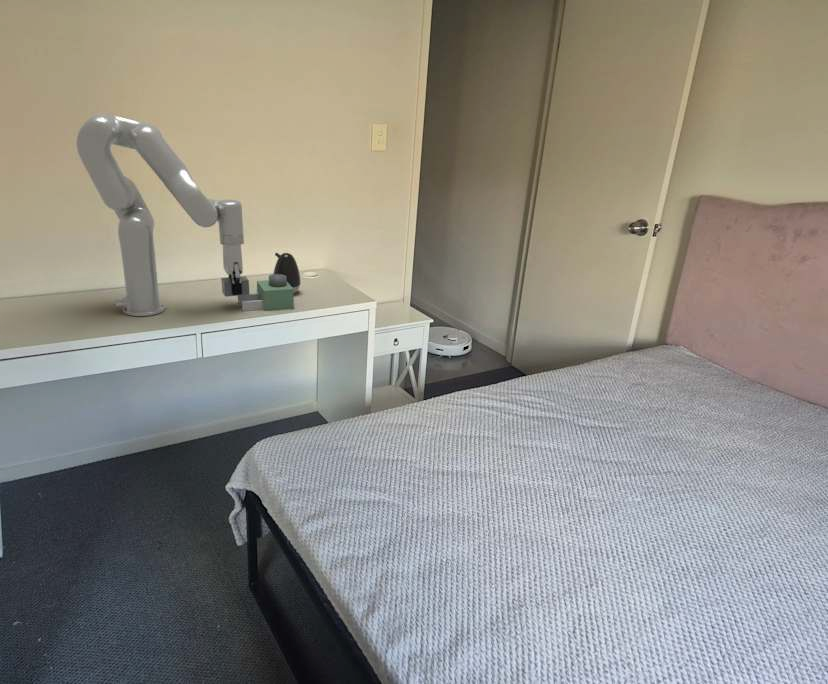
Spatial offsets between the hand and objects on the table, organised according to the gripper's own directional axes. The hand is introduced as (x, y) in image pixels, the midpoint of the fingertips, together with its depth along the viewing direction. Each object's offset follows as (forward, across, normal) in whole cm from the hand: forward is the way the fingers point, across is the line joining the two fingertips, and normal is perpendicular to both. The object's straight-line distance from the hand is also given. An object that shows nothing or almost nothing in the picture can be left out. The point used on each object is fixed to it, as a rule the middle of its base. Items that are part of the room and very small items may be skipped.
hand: (235, 291), depth 201 cm
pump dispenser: (+6, -12, +20) cm, 24 cm away
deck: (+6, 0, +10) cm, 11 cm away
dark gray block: (+1, 0, 0) cm, 1 cm away
